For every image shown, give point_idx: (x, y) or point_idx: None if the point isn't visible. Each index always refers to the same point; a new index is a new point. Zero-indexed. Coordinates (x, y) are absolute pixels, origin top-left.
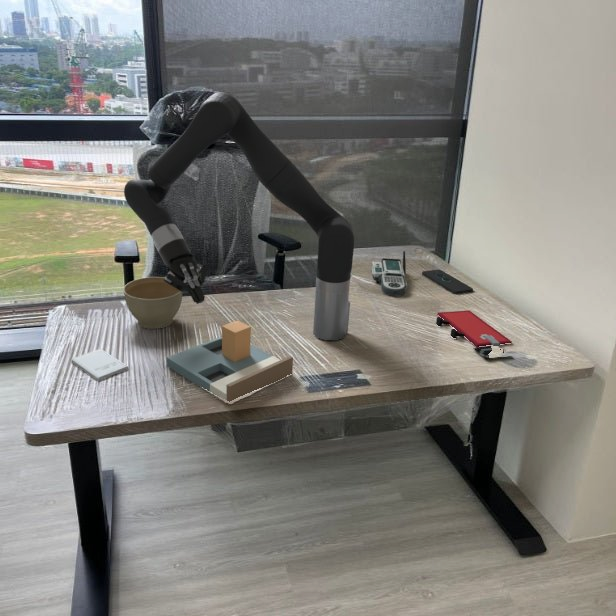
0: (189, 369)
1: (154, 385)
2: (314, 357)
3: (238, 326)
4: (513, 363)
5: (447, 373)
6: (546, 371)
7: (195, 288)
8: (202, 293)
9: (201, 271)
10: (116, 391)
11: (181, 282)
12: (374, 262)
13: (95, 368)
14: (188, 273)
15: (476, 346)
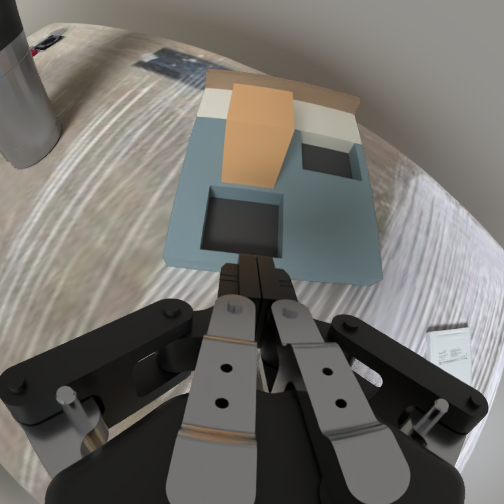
0: (369, 200)
1: (415, 244)
2: (127, 106)
3: (257, 100)
4: (61, 33)
5: (99, 36)
6: (68, 23)
7: (270, 297)
8: (225, 277)
9: (95, 375)
10: (458, 276)
11: (382, 350)
12: None
13: (464, 361)
14: (280, 412)
15: (36, 52)
